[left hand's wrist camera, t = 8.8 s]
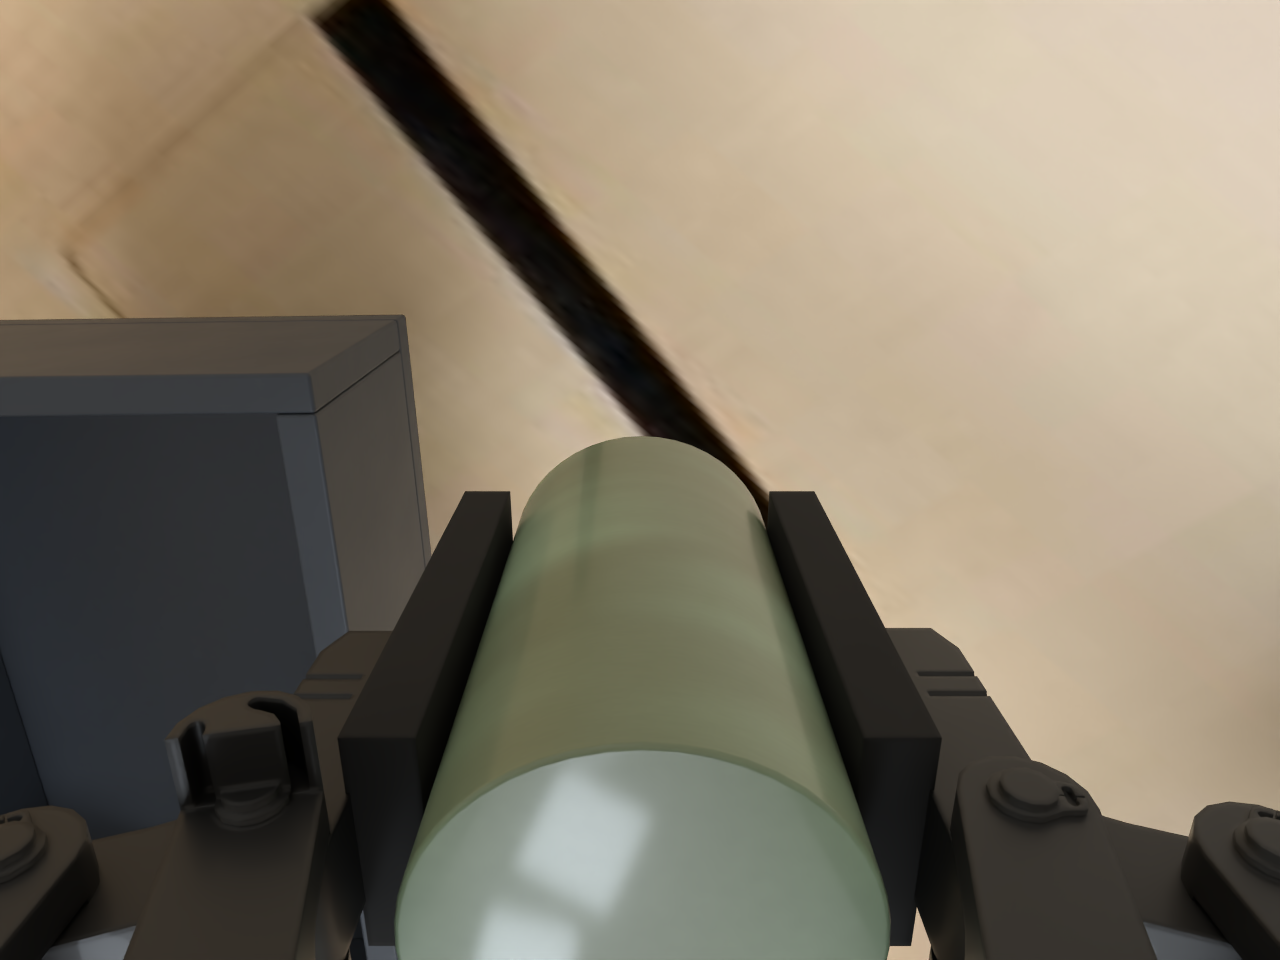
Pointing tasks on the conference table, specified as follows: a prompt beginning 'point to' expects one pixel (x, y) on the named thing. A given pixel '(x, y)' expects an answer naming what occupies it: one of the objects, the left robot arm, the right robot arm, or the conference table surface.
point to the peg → (642, 743)
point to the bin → (189, 535)
